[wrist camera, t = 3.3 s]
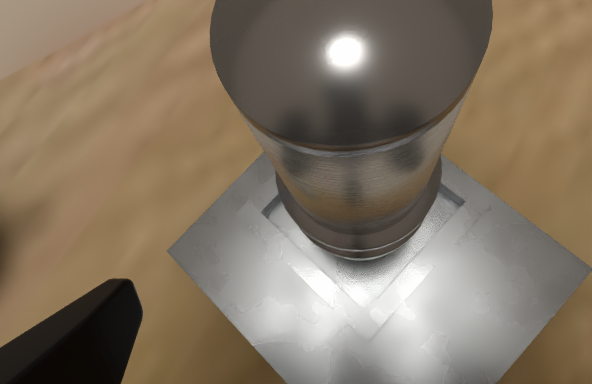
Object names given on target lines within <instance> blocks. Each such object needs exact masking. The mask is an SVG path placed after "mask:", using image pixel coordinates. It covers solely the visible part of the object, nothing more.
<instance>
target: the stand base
mask: <svg viewBox="0 0 592 384" xmlns="http://www.w3.org/2000/svg"><path fill="white" fill-rule="evenodd" d="M440 155H441V154H440ZM441 161H442V176H441V184H440V188H439V192H438V194H437V197H436V199H435V202H434V204H433V205H432V207H431V209H430V210H429V212H428V214H427V216H426V218H425V219H424V221H423V223H422V224H421V226H420V228H419V229H418V231H417V232H416V233H415V234H414V236H413V237H412V238H411V239H410V240H409V241H408V242H407V243H405V244H404V245H403V246H401V247H400V248H398V249H397V250H395V251H393V252H391V253H389V254H386V255H384V256H382V257H379V258H376V259H371V260H363V261H359V260H349V259H345V258H342V257H338V256H335V255H332V254H330V253H328V252H326V251H324V250H322V249H321V248H319V247H317V246H316V245H315V244H314V243H313V242H311V241H310V240H309V239H308V238H307V237H306V236H305V235H304V233H303V232H302V231H301V229H300V228H299V227H298V225H297V224H296V223H295V222H294V220H293V219H292V218H291V216H290V215H289V214H288V212H287V211H286V209H285V207H284V205H283V203H282V201H281V199H280V196H279V193H278V189H277V184H276V175H275V168H274V166H273V165H272V163H271V161H270V160H269V158H268V157H267V155H266V153H265V152H263V153H262V154H261V155H260V156H259V157H258V158H257V159H256V160H255V161H254V162H253V163H252V164H251V165H250V166H249V167H248V168H247V170H246V171H245V172H244V173H243V174H242V175H241V176H240V177H239V178H238V179H237V180H236V181H235V182H234V183H233V184H232V185H231V186H230V187H229V188H228V189H227V190H226V191H225V192H224V193H223V194H222V195H221V196H220V197H219V198H218V199H217V200H216V201H215V202H214V203H213V204H212V205H211V206H210V207H209V208H208V209H207V210H206V211H205V212H204V213H203V215H202V216H201V217H200V218H199V219H198V220H197V221H196V222H195V223H194V224H193V225H192V226H191V227H190V228H189V229H188V230H187V231H186V232H185V233H184V234H183V235H182V236H181V237H180V238H179V239H178V240H177V241H176V242H175V243H174V244H173V245H172V246H171V247H170V248H169V249H168V250H167V252H168V253H169V254H170V255H171V256H172V258H173V259H174V260H175V261H176V262H177V263H178V264H179V265H180V266H181V267H182V269H183V270H184V271H185V272H186V273H187V274H188V275H189V276H190V277H191V278H192V280H193V281H194V282H195V283H196V284H197V285H198V286H199V287H200V288H201V289H202V291H203V292H204V293H205V294H206V295H207V296H208V297H209V298H210V299H211V300H212V302H213V303H214V304H215V305H216V306H217V307H218V308H219V309H220V310H221V311H222V313H223V314H224V315H225V316H226V317H227V318H228V319H229V320H230V321H231V322H232V324H233V325H234V326H235V327H236V328H237V329H238V330H239V331H240V332H241V333H242V335H243V336H244V337H245V338H246V339H247V340H248V341H249V342H250V343H251V344H252V346H253V347H254V348H255V349H256V350H257V351H258V352H259V353H260V354H261V355H262V357H263V358H264V359H265V360H266V361H267V362H268V363H269V364H270V365H271V367H272V368H273V369H274V370H275V371H276V372H277V373H278V374H279V375H280V376H281V378H282V379H283V380H284V381H285V382H286V383H287V384H496V383H497V382H498V381H499V380H500V378H501V377H502V376H503V375H504V374H505V373H506V371H507V370H508V369H509V368H510V367H511V365H512V364H513V363H514V362H515V361H516V360H517V358H518V357H519V356H520V355H521V354H522V353H523V351H524V350H525V349H526V348H527V347H528V345H529V344H530V343H531V342H532V341H533V340H534V338H535V337H536V336H537V335H538V334H539V332H540V331H541V330H542V329H543V328H544V327H545V325H546V324H547V323H548V322H549V321H550V319H551V318H552V317H553V316H554V315H555V314H556V312H557V311H558V310H559V309H560V308H561V306H562V305H563V304H564V303H565V302H566V301H567V299H568V298H569V297H570V296H571V295H572V293H573V292H574V291H575V290H576V289H577V288H578V286H579V285H580V284H581V283H582V282H583V280H584V279H585V278H586V277H587V276H588V275H589V273H590V272H591V271H592V268H591V267H590V266H589V265H587V264H586V263H585V262H583V261H582V260H581V259H579V258H578V257H577V256H575V255H574V254H573V253H571V252H570V251H569V250H567V249H566V248H565V247H563V246H562V245H561V244H559V243H558V242H557V241H556V240H554V239H553V238H552V237H550V236H549V235H548V234H546V233H545V232H544V231H542V230H541V229H540V228H538V227H537V226H536V225H534V224H533V223H532V222H530V221H529V220H528V219H526V218H525V217H524V216H522V215H521V214H520V213H518V212H517V211H516V210H514V209H513V208H512V207H510V206H509V205H508V204H506V203H505V202H504V201H502V200H501V199H500V198H498V197H497V196H496V195H495V194H493V193H492V192H491V191H489V190H488V189H487V188H485V187H484V186H483V185H481V184H480V183H479V182H477V181H476V180H475V179H473V178H472V177H471V176H469V175H468V174H467V173H465V172H464V171H463V170H461V169H460V168H459V167H457V166H456V165H455V164H453V163H452V162H451V161H449V160H448V159H447V158H445V157H444V156H443V155H441Z"/></svg>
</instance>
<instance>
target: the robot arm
mask: <svg viewBox="0 0 592 384" xmlns="http://www.w3.org/2000/svg"><path fill="white" fill-rule="evenodd" d="M142 317H143V310H142V306H141V303H140V300H139V297H138V295H137V292H136V289H135V286H134V284H133V282H132V281H131V280H130V279H116V278H114V279H109V280H107V281H106V282H104V283H102V284H101V285H99V286H98V287H96V288H94V289H93V290H91V291H90V292H88V293H87V294H85V295H83V296H82V297H80V298H79V299H77V300H75V301H74V302H72V303H71V304H69V305H67V306H66V307H64V308H63V309H61V310H59V311H58V312H56V313H55V314H53V315H51V316H50V317H48V318H47V319H45V320H44V321H42V322H40V323H39V324H37V325H36V326H34V327H32V328H31V329H29V330H28V331H26V332H24V333H23V334H21V335H20V336H18V337H16V338H15V339H13V340H12V341H10V342H9V343H7V344H5V345H4V346H2V347H1V348H0V384H121V381H122V379H123V376H124V373H125V370H126V367H127V364H128V361H129V358H130V354H131V351H132V348H133V345H134V342H135V339H136V336H137V333H138V330H139V327H140V324H141V321H142Z"/></svg>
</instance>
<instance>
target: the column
mask: <svg viewBox="0 0 592 384" xmlns="http://www.w3.org/2000/svg"><path fill="white" fill-rule="evenodd" d="M492 17H493V11H492V0H216V1H215V5H214V9H213V13H212V17H211V25H210V47H211V53H212V59H213V63H214V65H215V68H216V71H217V74H218V76H219V78H220V80H221V82H222V84H223V86H224V88H225V90H226V91H227V93H228V94H229V96H230V98H231V99H232V101H233V102H234V104H235V106H236V107H237V109H238V110H239V112H240V114H241V115H242V117H243V118H244V120H245V121H246V123H247V125H248V126H249V128H250V129H251V131H252V133H253V134H254V136H255V137H256V139H257V141H258V142H259V144H260V145H261V147H262V149H263V150H264V152H265V153H266V155H267V157H268V158H269V160H270V161H271V163H272V165H273V166H274V168H275V175H276V184H277V189H278V193H279V196H280V199H281V201H282V203H283V205H284V207H285V209H286V211H287V212H288V214H289V215H290V216H291V218H292V219H293V220H294V222H295V223H296V224H297V225H298V227H299V228H300V229H301V231H302V232H303V233H304V235H305V236H306V237H307V238H308V239H309V240H310V241H311V242H313V243H314V244H315V245H316V246H317V247H319V248H321V249H322V250H324V251H326V252H328V253H330V254H332V255H335V256H338V257H342V258H345V259H349V260H359V261H363V260H371V259H376V258H379V257H382V256H384V255H386V254H389V253H391V252H393V251H395V250H397V249H398V248H400V247H401V246H403V245H404V244H405V243H407V242H408V241H409V240H410V239H411V238H412V237H413V236H414V234H415V233H416V232H417V231H418V229H419V228H420V226H421V224H422V223H423V221H424V219H425V218H426V216H427V214H428V212H429V210H430V209H431V207H432V205H433V204H434V202H435V199H436V197H437V194H438V192H439V188H440V184H441V176H442V161H441V155H440V154H441V152H442V150H443V147H444V145H445V143H446V141H447V138H448V136H449V134H450V132H451V129H452V127H453V125H454V123H455V120H456V118H457V116H458V114H459V111H460V109H461V107H462V105H463V102H464V100H465V98H466V95H467V93H468V91H469V89H470V86H471V84H472V82H473V80H474V77H475V75H476V73H477V71H478V68H479V66H480V64H481V62H482V59H483V57H484V54H485V52H486V49H487V47H488V43H489V39H490V34H491V30H492Z"/></svg>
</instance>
